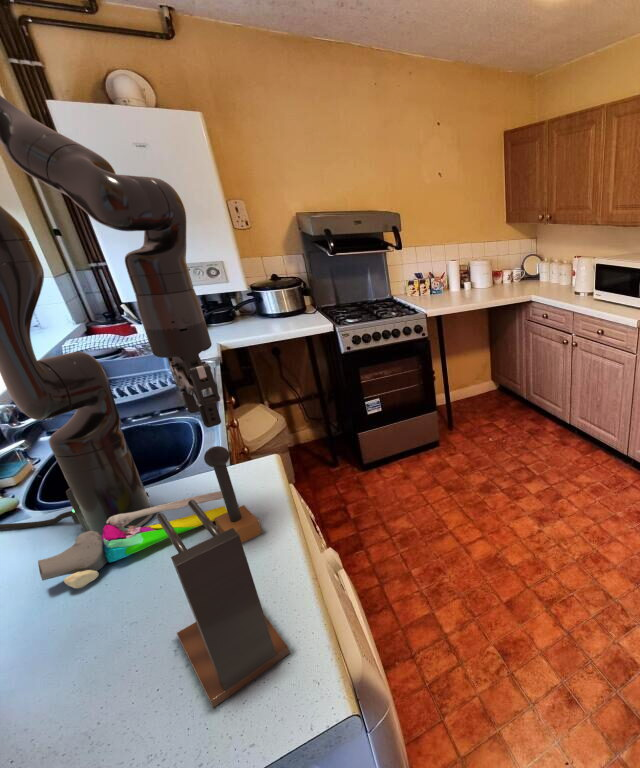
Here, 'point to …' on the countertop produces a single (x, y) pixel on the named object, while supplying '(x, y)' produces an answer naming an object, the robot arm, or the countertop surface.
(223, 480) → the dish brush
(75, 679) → the countertop surface
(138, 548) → the knee model
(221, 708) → the countertop surface
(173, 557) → the upright panel stand
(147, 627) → the countertop surface
